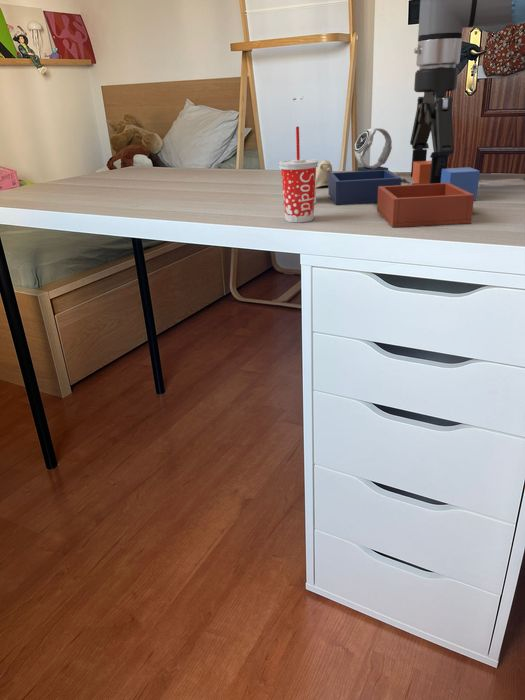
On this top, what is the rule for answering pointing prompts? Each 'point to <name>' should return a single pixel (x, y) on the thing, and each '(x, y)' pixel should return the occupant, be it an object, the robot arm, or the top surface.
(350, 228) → the top surface
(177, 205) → the top surface
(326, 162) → the decorative ornament
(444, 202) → the rust bin
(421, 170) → the terracotta block
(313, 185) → the beverage cup
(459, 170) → the slate blue block
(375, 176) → the navy bin
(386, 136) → the watch
